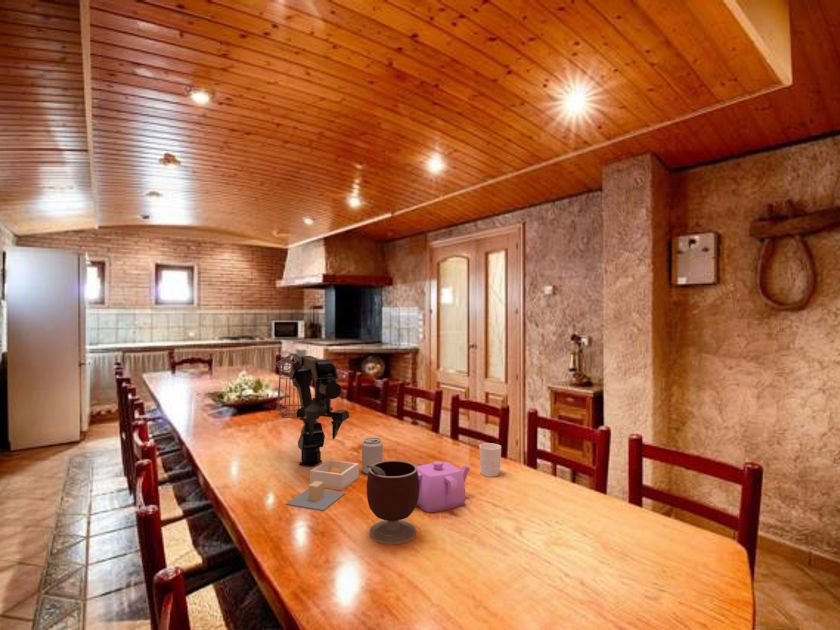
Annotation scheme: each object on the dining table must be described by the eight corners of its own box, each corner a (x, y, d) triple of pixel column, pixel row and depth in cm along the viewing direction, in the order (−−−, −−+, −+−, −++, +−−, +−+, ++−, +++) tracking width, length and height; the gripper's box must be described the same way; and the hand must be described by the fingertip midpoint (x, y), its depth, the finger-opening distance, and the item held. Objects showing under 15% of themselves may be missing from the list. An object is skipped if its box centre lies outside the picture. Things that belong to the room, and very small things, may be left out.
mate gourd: (395, 515, 129) (395, 446, 128) (429, 533, 119) (430, 457, 119) (350, 534, 118) (351, 458, 118) (384, 555, 108) (385, 472, 108)
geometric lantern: (272, 418, 244) (272, 354, 243) (285, 412, 259) (285, 352, 259) (299, 419, 241) (299, 355, 241) (311, 413, 256) (311, 352, 256)
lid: (285, 506, 135) (285, 488, 135) (309, 490, 148) (309, 474, 148) (323, 513, 131) (323, 494, 131) (344, 496, 143) (345, 479, 143)
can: (379, 476, 159) (379, 442, 159) (358, 474, 161) (359, 441, 161) (384, 469, 167) (385, 436, 167) (365, 467, 168) (365, 435, 168)
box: (310, 485, 150) (310, 470, 150) (328, 473, 162) (328, 459, 162) (341, 490, 146) (341, 475, 146) (358, 477, 158) (358, 463, 158)
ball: (326, 480, 153) (326, 468, 153) (332, 476, 157) (332, 465, 157) (337, 482, 152) (337, 470, 152) (342, 477, 155) (342, 466, 155)
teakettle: (403, 510, 133) (403, 468, 132) (419, 488, 149) (419, 451, 149) (459, 518, 128) (460, 474, 128) (470, 494, 144) (470, 456, 144)
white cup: (503, 471, 165) (503, 444, 165) (497, 479, 158) (498, 450, 157) (482, 468, 168) (483, 441, 168) (476, 475, 161) (476, 447, 161)
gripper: (287, 396, 157) (286, 441, 157) (334, 400, 151) (334, 446, 151) (305, 391, 167) (305, 433, 167) (349, 394, 161) (349, 438, 161)
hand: (322, 437), depth 161 cm, fingers open, 9 cm apart
